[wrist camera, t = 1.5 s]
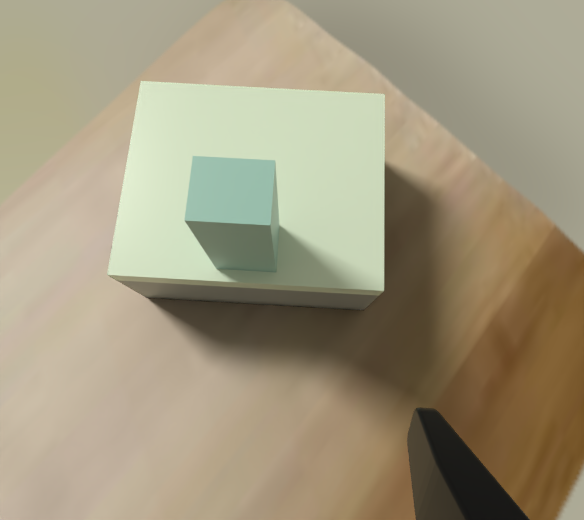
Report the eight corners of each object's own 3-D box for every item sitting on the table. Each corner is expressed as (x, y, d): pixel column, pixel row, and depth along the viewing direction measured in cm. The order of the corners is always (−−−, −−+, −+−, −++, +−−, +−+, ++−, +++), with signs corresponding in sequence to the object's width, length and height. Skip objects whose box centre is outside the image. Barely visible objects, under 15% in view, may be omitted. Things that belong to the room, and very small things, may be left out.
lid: (379, 295, 18) (426, 251, 12) (116, 280, 18) (27, 228, 12) (380, 107, 21) (419, -12, 14) (147, 95, 21) (86, -29, 14)
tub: (363, 310, 22) (379, 295, 18) (146, 297, 22) (116, 280, 18) (365, 150, 25) (380, 107, 21) (169, 139, 25) (147, 95, 21)
